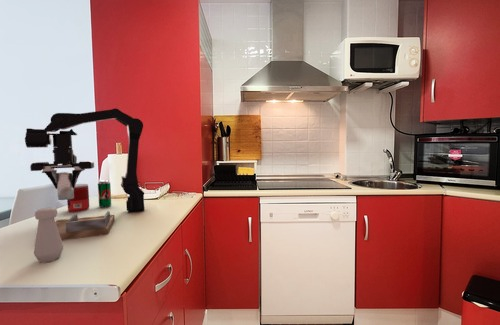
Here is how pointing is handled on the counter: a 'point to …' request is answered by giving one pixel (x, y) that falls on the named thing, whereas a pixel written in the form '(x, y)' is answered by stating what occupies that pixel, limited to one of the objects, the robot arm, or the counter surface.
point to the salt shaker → (47, 236)
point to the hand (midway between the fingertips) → (65, 188)
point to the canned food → (79, 198)
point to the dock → (85, 226)
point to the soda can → (104, 193)
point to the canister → (65, 186)
